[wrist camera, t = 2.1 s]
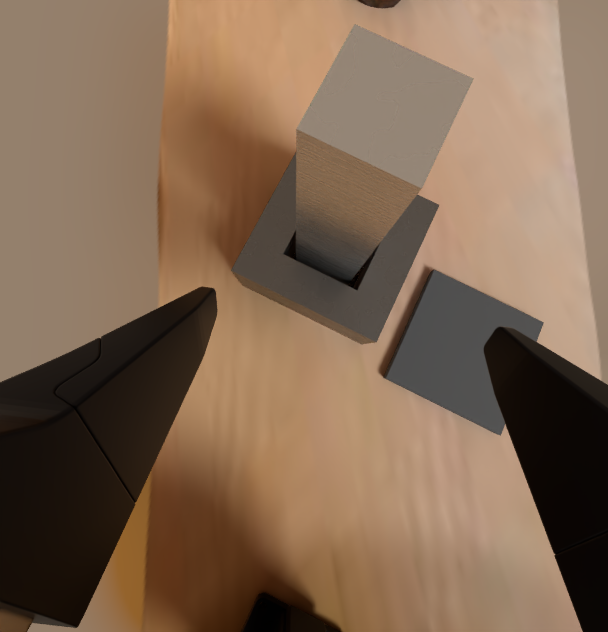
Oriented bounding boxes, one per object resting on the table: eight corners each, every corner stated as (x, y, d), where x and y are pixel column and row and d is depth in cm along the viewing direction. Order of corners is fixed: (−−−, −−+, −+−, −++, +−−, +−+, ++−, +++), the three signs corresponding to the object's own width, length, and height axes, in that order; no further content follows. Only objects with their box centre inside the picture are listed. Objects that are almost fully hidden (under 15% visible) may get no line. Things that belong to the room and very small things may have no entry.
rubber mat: (494, 433, 21) (500, 435, 21) (383, 377, 21) (385, 378, 21) (537, 323, 22) (543, 322, 22) (430, 271, 23) (434, 269, 22)
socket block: (361, 344, 22) (376, 342, 18) (242, 285, 22) (231, 270, 18) (414, 230, 23) (439, 204, 19) (301, 176, 23) (302, 140, 19)
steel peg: (342, 291, 22) (421, 188, 8) (295, 268, 22) (296, 128, 8) (364, 246, 23) (473, 78, 9) (318, 224, 23) (354, 24, 9)
